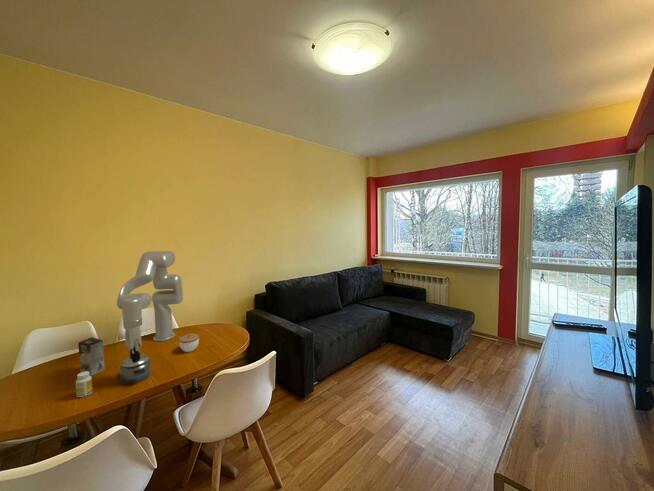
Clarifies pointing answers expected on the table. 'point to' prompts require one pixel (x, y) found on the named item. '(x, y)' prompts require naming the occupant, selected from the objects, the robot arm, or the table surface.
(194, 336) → the lidded jar
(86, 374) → the supplement bottle
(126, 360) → the lid
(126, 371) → the pot
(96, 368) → the coffee box
